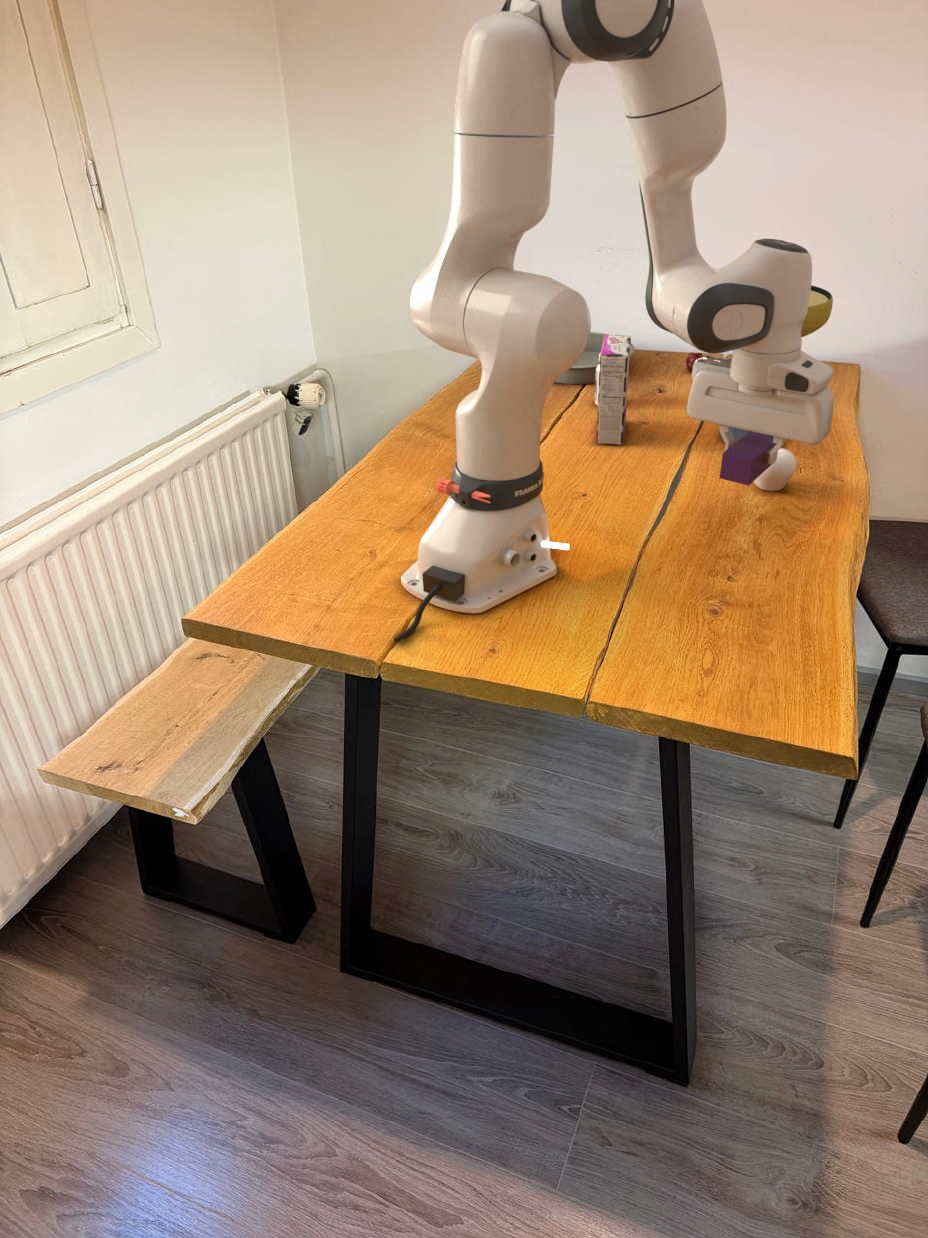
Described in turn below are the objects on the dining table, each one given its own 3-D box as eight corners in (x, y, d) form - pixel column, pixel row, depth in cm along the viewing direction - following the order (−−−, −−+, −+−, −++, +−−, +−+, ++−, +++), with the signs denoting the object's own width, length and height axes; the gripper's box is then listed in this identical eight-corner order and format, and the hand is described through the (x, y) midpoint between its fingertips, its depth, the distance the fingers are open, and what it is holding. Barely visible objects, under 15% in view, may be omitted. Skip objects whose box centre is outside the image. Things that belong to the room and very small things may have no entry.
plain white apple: (774, 474, 146) (782, 427, 141) (801, 491, 140) (810, 444, 136) (737, 481, 144) (744, 434, 140) (762, 499, 138) (771, 451, 134)
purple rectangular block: (748, 485, 127) (752, 459, 125) (719, 478, 129) (722, 452, 127) (775, 461, 133) (780, 436, 131) (747, 454, 136) (751, 429, 134)
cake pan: (511, 354, 203) (511, 334, 200) (617, 347, 204) (618, 327, 202) (530, 391, 182) (530, 369, 180) (647, 382, 184) (648, 361, 181)
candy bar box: (599, 421, 167) (604, 333, 158) (625, 423, 166) (632, 334, 157) (594, 445, 158) (599, 353, 149) (622, 446, 157) (629, 354, 148)
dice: (703, 367, 191) (705, 349, 189) (702, 374, 187) (705, 355, 185) (685, 367, 192) (687, 348, 189) (684, 373, 188) (686, 355, 186)
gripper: (684, 358, 126) (675, 449, 134) (829, 385, 115) (810, 482, 123) (704, 346, 130) (694, 435, 138) (845, 371, 119) (826, 465, 127)
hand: (749, 457), depth 130 cm, fingers closed on purple rectangular block, 4 cm apart
